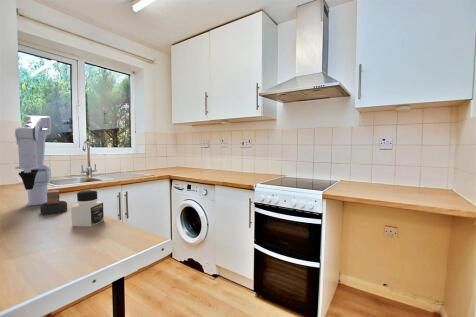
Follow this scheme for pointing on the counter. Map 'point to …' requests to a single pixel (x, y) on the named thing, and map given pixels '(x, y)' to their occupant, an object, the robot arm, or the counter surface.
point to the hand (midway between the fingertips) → (29, 188)
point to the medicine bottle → (87, 209)
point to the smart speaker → (53, 208)
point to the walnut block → (53, 197)
